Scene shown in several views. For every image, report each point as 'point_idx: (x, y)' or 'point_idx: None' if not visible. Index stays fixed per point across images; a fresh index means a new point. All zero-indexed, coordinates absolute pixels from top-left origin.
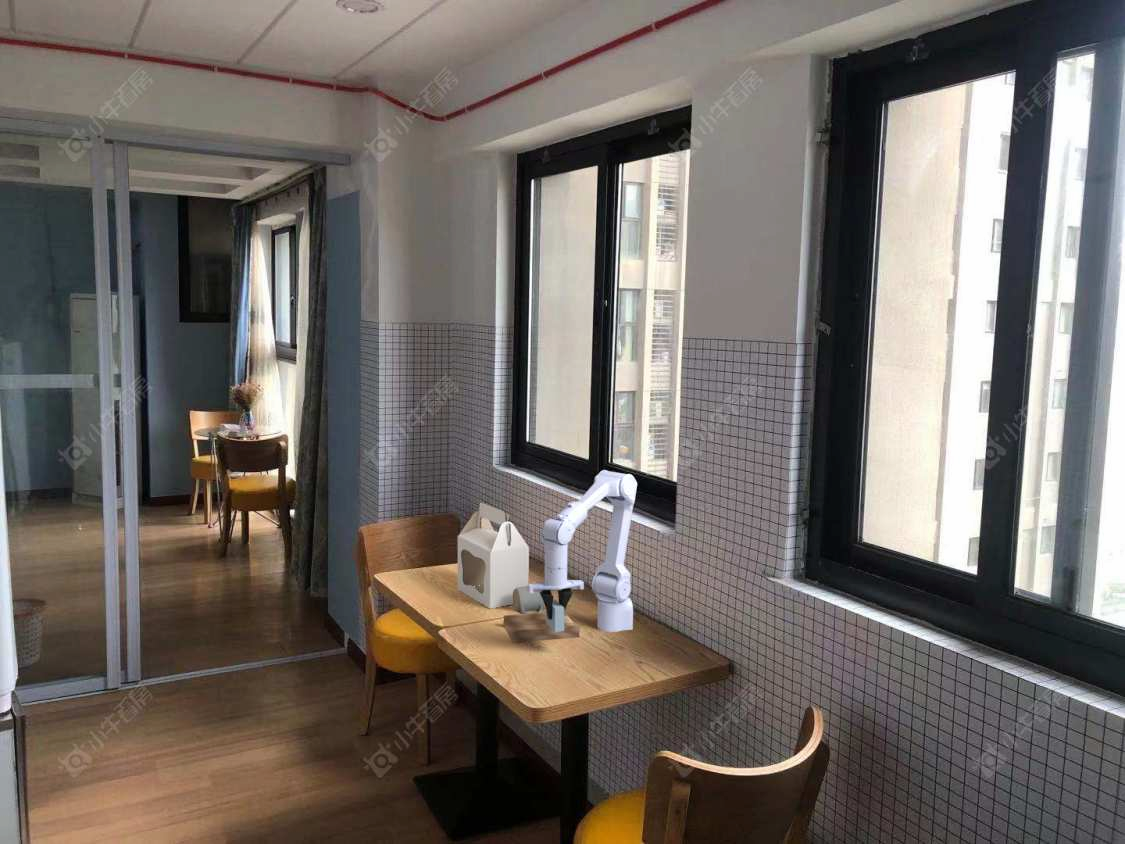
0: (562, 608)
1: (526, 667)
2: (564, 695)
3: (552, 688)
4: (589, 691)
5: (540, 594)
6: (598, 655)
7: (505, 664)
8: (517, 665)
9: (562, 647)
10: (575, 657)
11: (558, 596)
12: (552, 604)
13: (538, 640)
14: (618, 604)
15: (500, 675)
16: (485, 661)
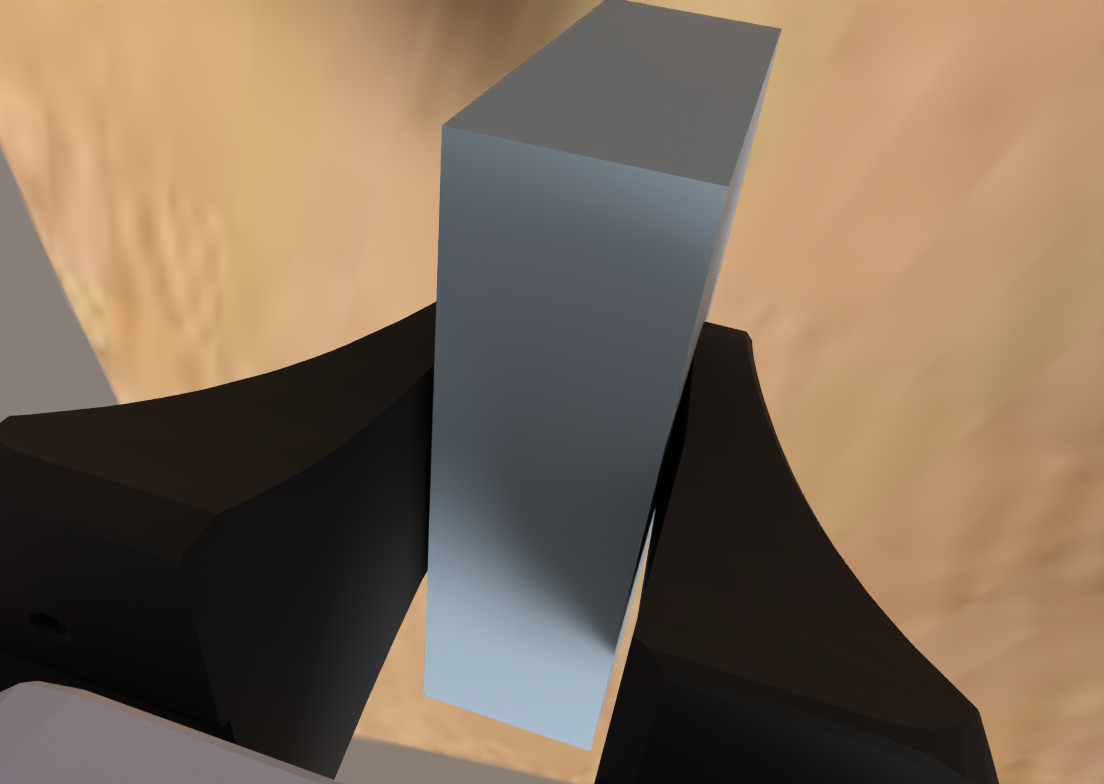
0: (559, 733)
1: (328, 339)
2: (440, 712)
3: (407, 638)
4: (582, 753)
5: (75, 421)
6: (1056, 442)
7: (179, 209)
8: (268, 273)
9: (859, 64)
10: (809, 371)
11: (661, 534)
12: (463, 513)
13: None
14: None
15: (138, 362)
16: (21, 68)
